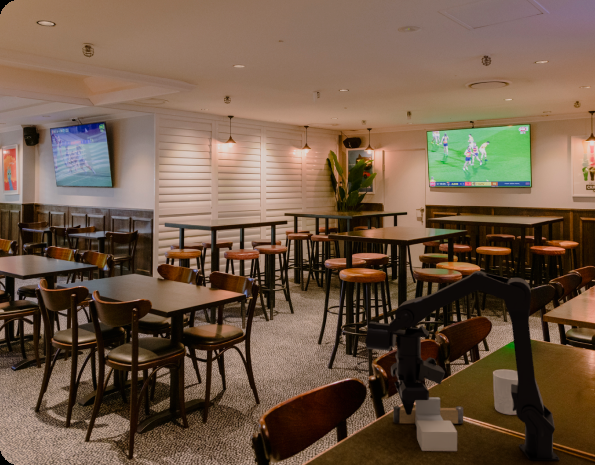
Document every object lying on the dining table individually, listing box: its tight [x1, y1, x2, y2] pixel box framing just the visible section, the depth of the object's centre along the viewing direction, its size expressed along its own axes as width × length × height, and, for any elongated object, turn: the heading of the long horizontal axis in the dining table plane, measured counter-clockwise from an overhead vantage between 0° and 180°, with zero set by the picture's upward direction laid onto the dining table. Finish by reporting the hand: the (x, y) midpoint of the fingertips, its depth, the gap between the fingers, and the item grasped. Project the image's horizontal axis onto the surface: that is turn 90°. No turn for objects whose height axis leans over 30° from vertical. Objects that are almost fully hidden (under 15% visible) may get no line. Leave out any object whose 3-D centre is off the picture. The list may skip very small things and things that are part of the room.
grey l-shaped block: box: [414, 396, 443, 428], centre depth 127 cm, size 7×6×7 cm
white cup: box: [492, 368, 518, 416], centre depth 139 cm, size 8×8×10 cm
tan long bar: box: [392, 405, 464, 425], centre depth 132 cm, size 18×2×4 cm, turn 88°
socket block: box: [416, 420, 458, 452], centre depth 120 cm, size 6×8×4 cm
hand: (408, 414), depth 127 cm, fingers closed
